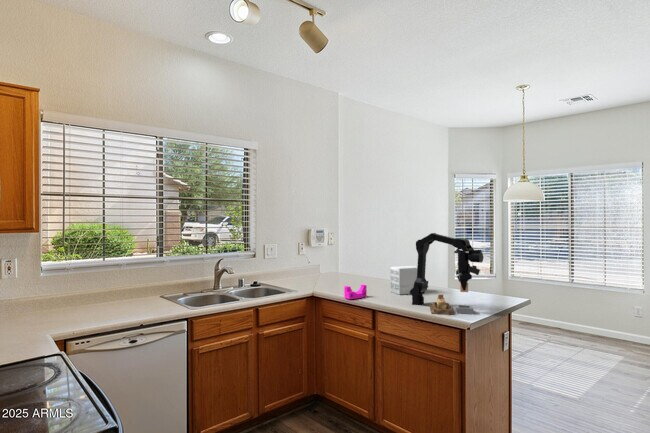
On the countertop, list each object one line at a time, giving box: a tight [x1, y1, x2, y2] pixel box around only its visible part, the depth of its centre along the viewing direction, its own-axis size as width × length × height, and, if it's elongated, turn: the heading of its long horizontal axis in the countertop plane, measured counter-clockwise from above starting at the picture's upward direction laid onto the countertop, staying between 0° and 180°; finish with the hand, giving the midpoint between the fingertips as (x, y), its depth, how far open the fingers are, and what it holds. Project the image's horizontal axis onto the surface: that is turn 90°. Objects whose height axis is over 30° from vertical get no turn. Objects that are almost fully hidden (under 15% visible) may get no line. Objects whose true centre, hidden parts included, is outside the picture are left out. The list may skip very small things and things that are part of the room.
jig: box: [429, 301, 455, 316], centre depth 220 cm, size 12×20×2 cm, turn 167°
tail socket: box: [454, 304, 474, 315], centre depth 216 cm, size 8×8×3 cm
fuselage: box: [436, 293, 447, 310], centre depth 220 cm, size 4×12×7 cm, turn 167°
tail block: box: [459, 281, 469, 293], centre depth 216 cm, size 4×4×5 cm
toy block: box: [343, 283, 368, 300], centre depth 258 cm, size 15×6×8 cm, turn 117°
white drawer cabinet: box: [389, 264, 417, 296], centre depth 275 cm, size 17×13×18 cm
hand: (463, 289), depth 216 cm, fingers closed on tail block, 4 cm apart
